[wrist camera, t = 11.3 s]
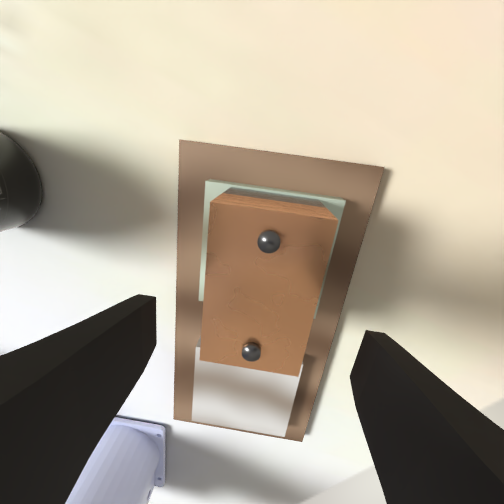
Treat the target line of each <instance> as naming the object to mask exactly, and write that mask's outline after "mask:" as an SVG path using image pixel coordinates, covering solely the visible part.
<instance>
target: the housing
mask: <svg viewBox="0 0 504 504" xmlns="http://www.w3.org/2000/svg"><path fill="white" fill-rule="evenodd" d="M338 221H339V220H338V219H337V218H336V217H335V216H334V215H333V214H332V213H331V212H330V211H329V210H328V209H327V208H326V207H325V206H324V205H323V204H322V203H321V202H320V200H319V199H313V198H306V197H299V196H292V195H285V194H278V193H270V192H263V191H256V190H249V189H242V188H235V187H230V188H229V189H227V190H226V191H225V192H223V193H222V194H220V195H219V196H217V197H216V198H215V199H213V200H212V201H210V209H209V224H208V239H207V254H206V269H205V284H204V299H203V314H202V329H201V344H200V359H199V360H200V361H206V362H212V363H218V364H224V365H230V366H236V367H242V368H248V369H254V370H260V371H266V372H272V373H278V374H284V375H290V376H296V377H299V373H300V369H301V365H302V361H303V357H304V353H305V349H306V346H307V342H308V338H309V334H310V330H311V326H312V322H313V318H314V314H315V310H316V307H317V303H318V299H319V295H320V291H321V287H322V283H323V279H324V275H325V271H326V268H327V264H328V260H329V256H330V252H331V248H332V244H333V240H334V236H335V233H336V229H337V225H338Z"/></svg>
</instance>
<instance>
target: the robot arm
mask: <svg viewBox="0 0 504 504" xmlns="http://www.w3.org/2000/svg"><path fill="white" fill-rule="evenodd" d="M155 346H156V297H153V296H147V295H140V294H138V295H136V296H133V297H131V298H129V299H127V300H124V301H122V302H120V303H118V304H116V305H114V306H112V307H110V308H108V309H106V310H104V311H102V312H100V313H98V314H96V315H94V316H91V317H89V318H87V319H85V320H83V321H81V322H79V323H77V324H75V325H72V326H70V327H68V328H66V329H63V330H61V331H59V332H57V333H54V334H52V335H50V336H48V337H45V338H43V339H41V340H39V341H36V342H34V343H32V344H29V345H27V346H24V347H22V348H19V349H17V350H14V351H12V352H9V353H6V354H4V355H1V356H0V504H148V502H149V499H150V496H151V494H152V491H153V488H154V486H158V487H162V486H164V483H165V427H164V426H162V425H157V424H151V423H146V422H140V421H134V420H129V419H123V418H118V417H115V416H116V414H117V413H118V411H119V410H120V408H121V407H122V405H123V403H124V402H125V400H126V399H127V397H128V396H129V394H130V392H131V391H132V389H133V388H134V386H135V384H136V383H137V381H138V380H139V378H140V376H141V375H142V373H143V372H144V370H145V368H146V365H147V363H148V361H149V359H150V357H151V355H152V353H153V351H154V349H155ZM350 380H351V386H352V391H353V396H354V401H355V406H356V410H357V413H358V416H359V419H360V422H361V425H362V428H363V432H364V435H365V438H366V441H367V444H368V447H369V450H370V453H371V456H372V459H373V462H374V465H375V468H376V471H377V474H378V477H379V480H380V483H381V486H382V489H383V492H384V496H385V499H386V502H387V504H504V430H503V429H502V428H500V427H499V426H498V425H496V424H495V423H493V422H492V421H491V420H490V419H489V418H487V417H486V416H484V414H482V413H481V412H480V411H478V410H477V409H476V408H475V407H473V406H472V405H471V404H470V403H468V402H467V401H466V400H465V399H463V398H462V397H461V396H460V395H458V394H457V393H456V392H455V391H453V390H452V389H451V388H450V387H449V386H447V385H446V384H445V383H444V382H443V381H441V380H440V379H439V378H438V377H437V376H436V375H434V374H433V373H432V372H431V371H430V370H428V369H427V368H426V367H425V366H424V365H423V364H421V363H420V362H419V361H418V360H417V359H416V358H414V357H413V356H412V355H411V354H410V353H409V352H407V351H406V350H405V349H404V348H403V347H401V346H400V345H399V344H398V343H397V342H395V341H394V340H393V339H392V338H390V337H389V336H388V335H386V334H385V333H380V332H374V331H368V330H366V331H365V334H364V337H363V340H362V343H361V346H360V349H359V351H358V354H357V357H356V360H355V363H354V366H353V368H352V371H351V374H350Z"/></svg>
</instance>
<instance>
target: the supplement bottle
mask: <svg viewBox="0 0 504 504" xmlns="http://www.w3.org/2000/svg"><path fill="white" fill-rule="evenodd" d="M41 198H42V187H41V182H40V178H39V175H38V172H37V170H36V168H35V166H34V164H33V162H32V161H31V159H30V158H29V156H28V155H27V154H26V152H25V151H24V150H23V149H22V148H21V147H20V146H19V145H18V144H17V143H16V142H15V141H13V140H12V139H11V138H9V137H8V136H6V135H5V134H3V133H1V132H0V232H1V231H5V230H8V229H12V228H15V227H18V226H21V225H23V224H25V223H27V222H28V221H30V220H31V219H32V218H33V217H34V215H35V214H36V213H37V211H38V209H39V206H40V203H41Z"/></svg>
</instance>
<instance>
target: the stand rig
mask: <svg viewBox="0 0 504 504" xmlns="http://www.w3.org/2000/svg"><path fill="white" fill-rule="evenodd" d="M383 170H384V167H378V166H371V165H364V164H356V163H349V162H341V161H334V160H327V159H319V158H312V157H304V156H297V155H290V154H282V153H275V152H268V151H260V150H253V149H245V148H238V147H231V146H223V145H216V144H208V143H201V142H194V141H186V140H179V184H178V232H177V280H176V328H175V375H174V419H175V420H180V421H186V422H192V423H197V424H203V425H209V426H214V427H220V428H226V429H232V430H237V431H243V432H249V433H254V434H260V435H266V436H271V437H277V438H283V439H288V440H294V441H300V442H302V441H303V437H304V434H305V431H306V427H307V424H308V421H309V417H310V414H311V411H312V407H313V404H314V401H315V397H316V394H317V391H318V387H319V384H320V381H321V377H322V374H323V371H324V367H325V364H326V361H327V357H328V354H329V351H330V347H331V344H332V341H333V337H334V334H335V331H336V327H337V324H338V321H339V317H340V314H341V311H342V307H343V304H344V301H345V297H346V294H347V291H348V287H349V284H350V281H351V277H352V274H353V271H354V267H355V264H356V261H357V257H358V254H359V251H360V247H361V244H362V241H363V237H364V234H365V230H366V227H367V224H368V220H369V217H370V214H371V210H372V207H373V204H374V200H375V197H376V194H377V190H378V187H379V184H380V180H381V177H382V174H383ZM230 187H235V188H242V189H249V190H256V191H263V192H270V193H278V194H285V195H292V196H299V197H306V198H313V199H319V200H320V202H321V203H322V204H323V205H324V206H325V207H326V208H327V209H328V210H329V211H330V212H331V213H332V214H333V215H334V216H335V217H336V218H337V219H338V220H339V221H338V225H337V229H336V233H335V236H334V240H333V244H332V248H331V252H330V256H329V260H328V264H327V268H326V271H325V275H324V279H323V283H322V287H321V291H320V295H319V299H318V303H317V307H316V310H315V314H314V318H313V322H312V326H311V330H310V334H309V338H308V342H307V346H306V349H305V353H304V357H303V361H302V365H301V369H300V373H299V377H296V376H290V375H284V374H278V373H272V372H266V371H260V370H254V369H248V368H242V367H236V366H230V365H224V364H218V363H212V362H206V361H200V360H199V359H200V344H201V329H202V314H203V299H204V284H205V269H206V254H207V239H208V224H209V209H210V201H212V200H213V199H215V198H216V197H217V196H219V195H220V194H222V193H223V192H225V191H226V190H227V189H229V188H230Z"/></svg>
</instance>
